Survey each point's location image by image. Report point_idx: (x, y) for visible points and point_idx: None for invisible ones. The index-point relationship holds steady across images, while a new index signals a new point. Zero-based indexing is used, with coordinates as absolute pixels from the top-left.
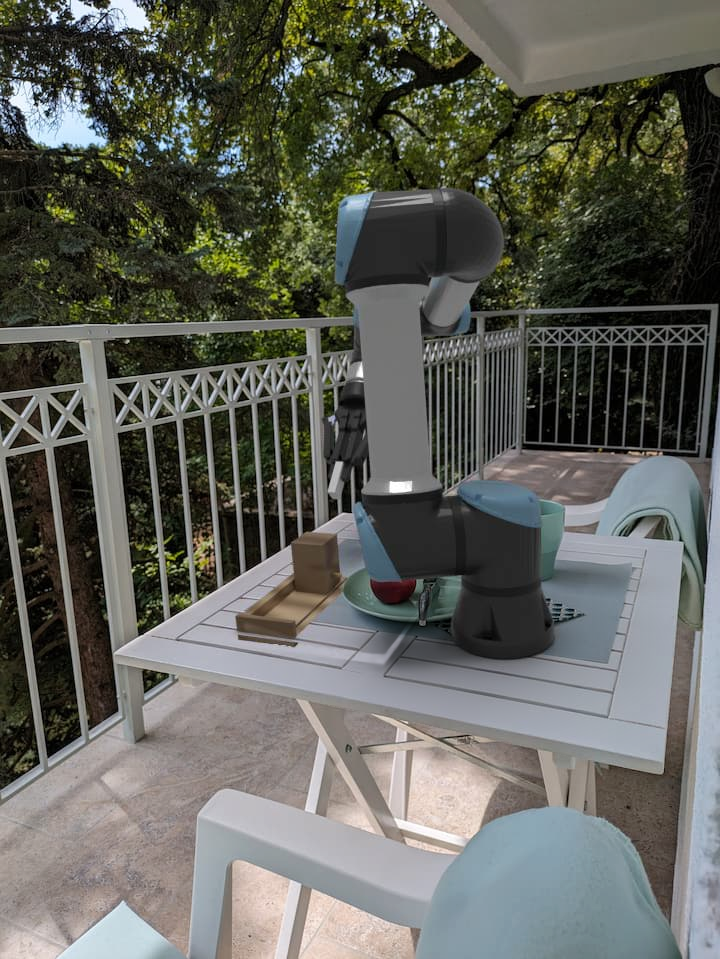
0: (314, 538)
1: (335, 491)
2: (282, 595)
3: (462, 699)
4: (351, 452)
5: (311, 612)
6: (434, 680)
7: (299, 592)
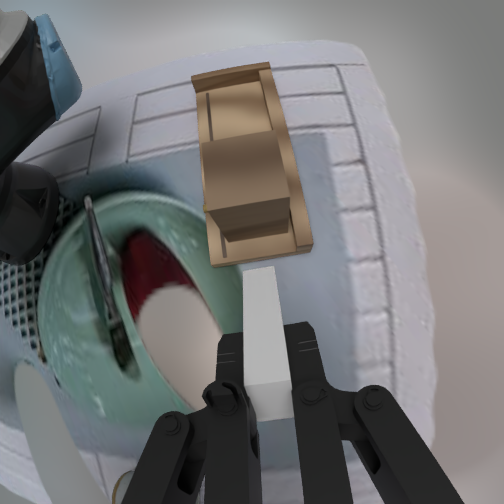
0: (242, 167)
1: (243, 276)
2: None
3: None
4: (208, 449)
5: (209, 135)
6: (65, 124)
7: None
